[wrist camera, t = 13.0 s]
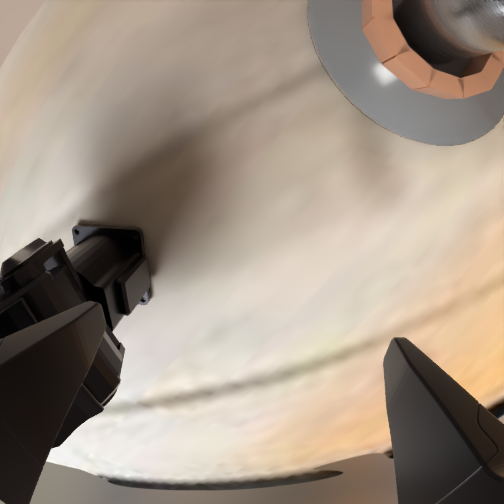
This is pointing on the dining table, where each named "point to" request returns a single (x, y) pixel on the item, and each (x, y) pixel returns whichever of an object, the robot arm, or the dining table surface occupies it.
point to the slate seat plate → (389, 90)
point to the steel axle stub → (451, 28)
